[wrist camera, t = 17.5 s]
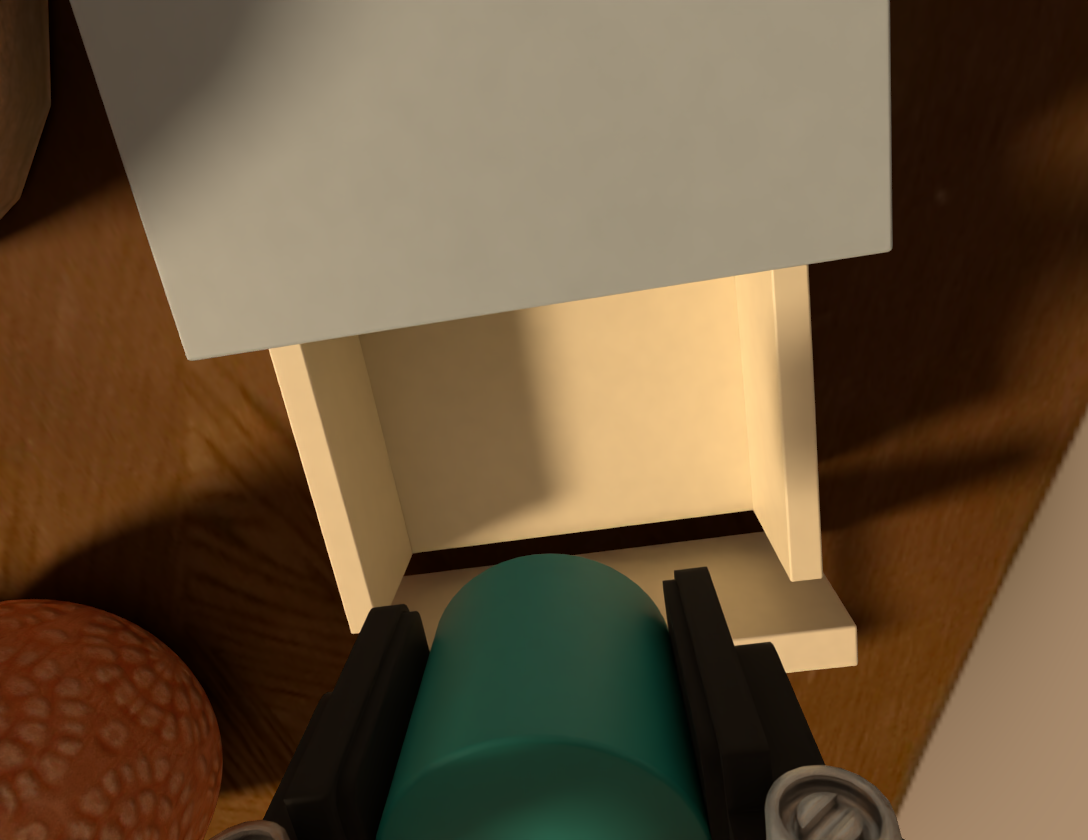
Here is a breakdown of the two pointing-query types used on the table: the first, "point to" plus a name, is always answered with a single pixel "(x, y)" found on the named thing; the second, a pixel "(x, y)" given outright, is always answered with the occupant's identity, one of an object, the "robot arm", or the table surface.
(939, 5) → the table surface
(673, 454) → the drawer
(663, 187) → the grey cabinet
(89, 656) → the planter
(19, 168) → the pottery
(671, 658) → the cylinder
